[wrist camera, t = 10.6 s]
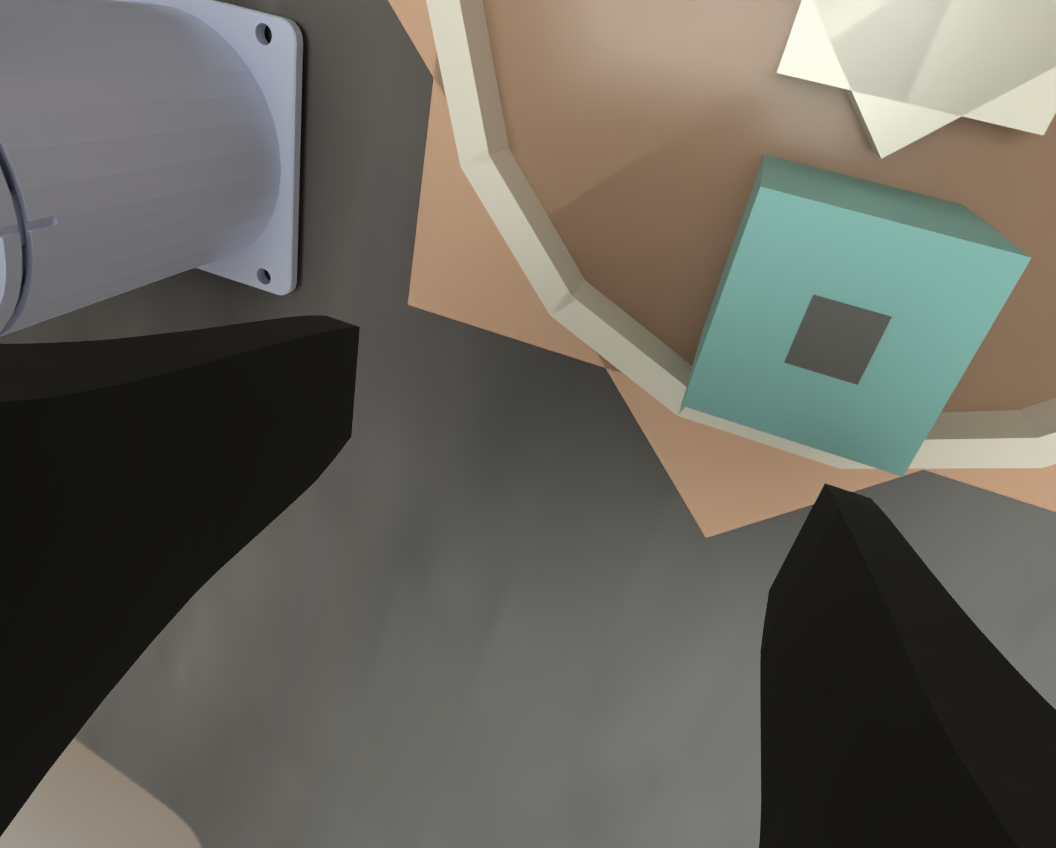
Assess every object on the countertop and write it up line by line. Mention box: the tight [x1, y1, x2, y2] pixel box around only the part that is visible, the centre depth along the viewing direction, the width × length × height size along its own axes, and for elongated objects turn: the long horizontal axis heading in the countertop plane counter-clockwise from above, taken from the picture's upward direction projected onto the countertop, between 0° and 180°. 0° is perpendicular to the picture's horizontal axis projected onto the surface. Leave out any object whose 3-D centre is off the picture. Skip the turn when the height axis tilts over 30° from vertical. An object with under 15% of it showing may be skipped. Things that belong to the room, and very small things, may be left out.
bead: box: [682, 154, 1031, 477], centre depth 15 cm, size 4×4×5 cm
